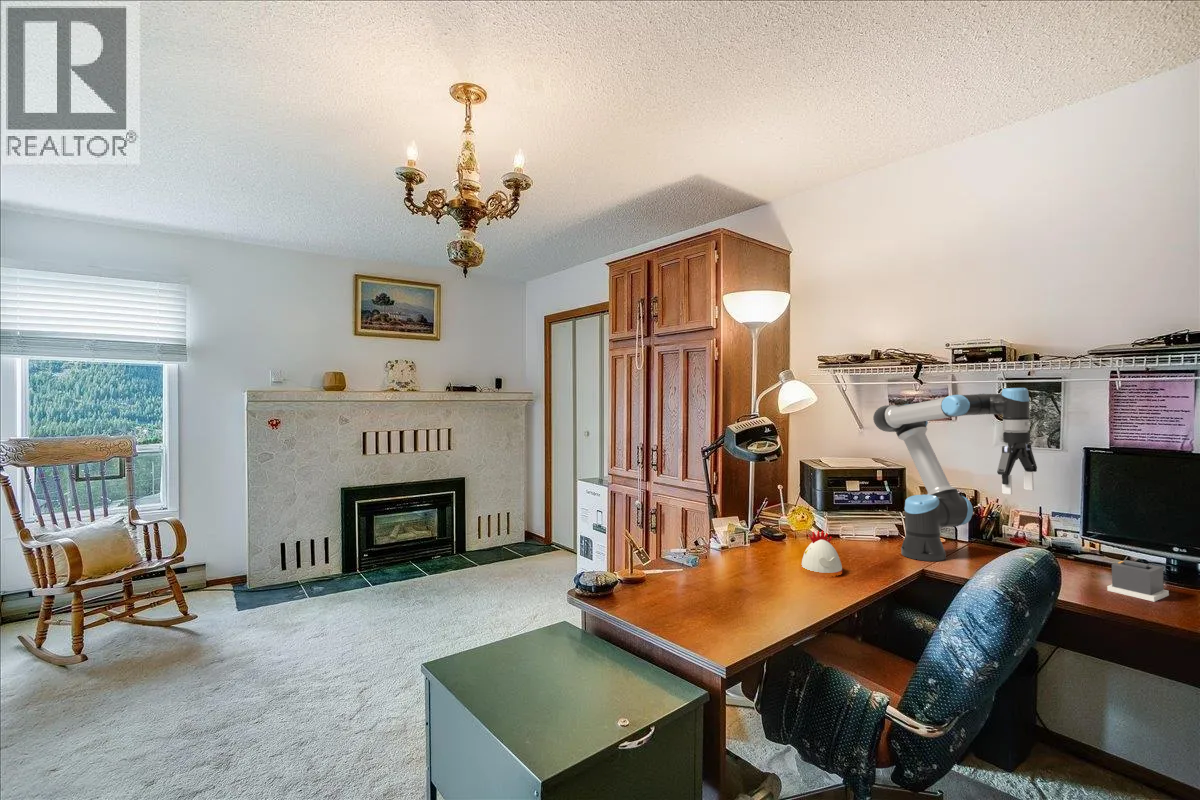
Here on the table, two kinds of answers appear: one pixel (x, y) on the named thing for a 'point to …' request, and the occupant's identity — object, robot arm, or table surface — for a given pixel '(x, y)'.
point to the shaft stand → (1135, 594)
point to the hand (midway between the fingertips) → (1018, 491)
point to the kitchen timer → (821, 555)
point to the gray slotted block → (1137, 578)
